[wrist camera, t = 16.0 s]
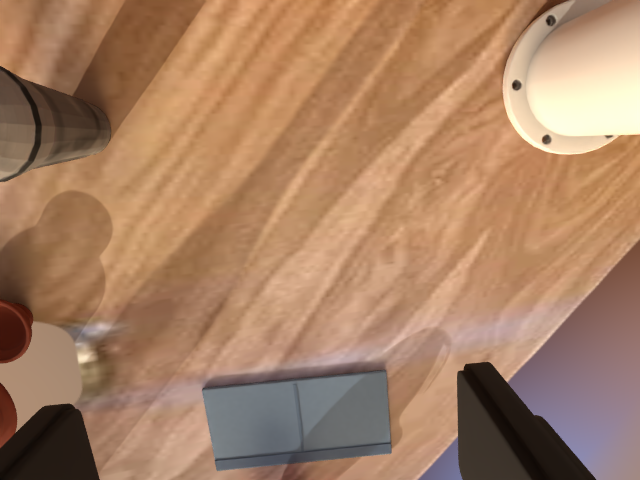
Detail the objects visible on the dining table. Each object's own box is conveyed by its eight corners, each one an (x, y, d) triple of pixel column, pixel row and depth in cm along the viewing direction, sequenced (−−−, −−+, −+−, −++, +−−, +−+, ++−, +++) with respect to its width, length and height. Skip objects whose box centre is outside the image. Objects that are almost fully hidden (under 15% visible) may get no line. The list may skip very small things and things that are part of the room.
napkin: (385, 369, 41) (386, 372, 41) (390, 451, 44) (391, 454, 43) (202, 387, 41) (201, 390, 41) (217, 468, 43) (216, 471, 43)
